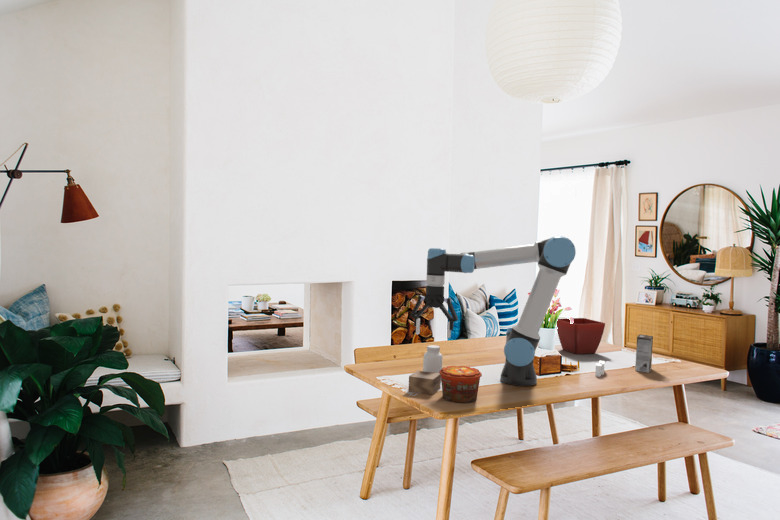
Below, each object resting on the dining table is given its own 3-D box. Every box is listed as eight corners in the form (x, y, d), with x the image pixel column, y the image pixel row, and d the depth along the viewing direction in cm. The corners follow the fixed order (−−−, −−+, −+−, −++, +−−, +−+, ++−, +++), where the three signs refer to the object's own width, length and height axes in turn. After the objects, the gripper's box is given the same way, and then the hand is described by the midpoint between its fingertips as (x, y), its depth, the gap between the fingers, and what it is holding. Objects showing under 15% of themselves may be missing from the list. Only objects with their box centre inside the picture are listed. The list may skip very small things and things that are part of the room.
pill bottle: (440, 385, 230) (441, 348, 229) (421, 383, 231) (422, 347, 230) (442, 380, 237) (443, 345, 237) (423, 378, 239) (425, 343, 238)
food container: (430, 395, 215) (431, 367, 214) (462, 390, 223) (463, 363, 223) (456, 407, 201) (457, 377, 201) (489, 401, 210) (490, 372, 209)
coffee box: (637, 367, 272) (638, 334, 271) (651, 369, 268) (653, 335, 268) (634, 370, 264) (636, 336, 263) (649, 372, 261) (651, 338, 260)
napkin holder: (599, 370, 265) (600, 358, 265) (619, 375, 255) (620, 363, 255) (577, 373, 258) (577, 361, 257) (597, 379, 248) (597, 366, 247)
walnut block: (440, 388, 225) (440, 373, 224) (432, 394, 215) (433, 379, 215) (416, 385, 228) (417, 370, 228) (408, 391, 219) (409, 376, 219)
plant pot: (553, 348, 311) (554, 318, 310) (582, 347, 316) (583, 317, 316) (574, 355, 293) (575, 324, 292) (604, 354, 298) (606, 323, 297)
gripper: (404, 283, 233) (402, 334, 234) (462, 288, 224) (459, 340, 225) (410, 282, 240) (408, 331, 241) (466, 286, 231) (464, 337, 232)
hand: (433, 335), depth 233 cm, fingers open, 13 cm apart
